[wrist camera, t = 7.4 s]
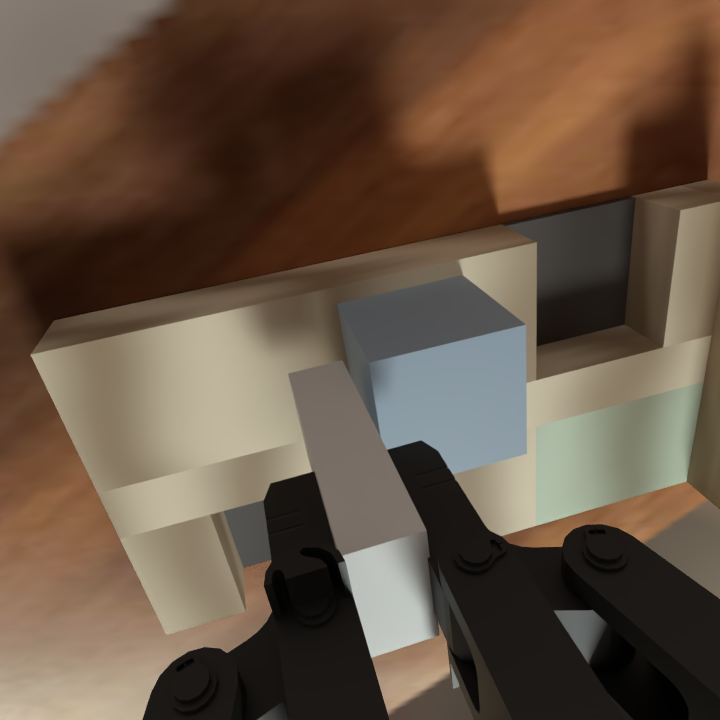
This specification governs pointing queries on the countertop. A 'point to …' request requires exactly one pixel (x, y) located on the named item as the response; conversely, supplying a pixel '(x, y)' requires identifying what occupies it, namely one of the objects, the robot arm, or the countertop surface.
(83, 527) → the countertop surface
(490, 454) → the cube
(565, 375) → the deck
